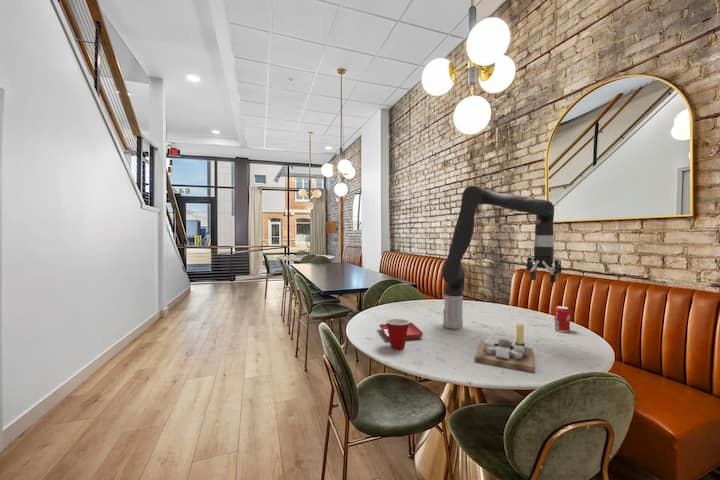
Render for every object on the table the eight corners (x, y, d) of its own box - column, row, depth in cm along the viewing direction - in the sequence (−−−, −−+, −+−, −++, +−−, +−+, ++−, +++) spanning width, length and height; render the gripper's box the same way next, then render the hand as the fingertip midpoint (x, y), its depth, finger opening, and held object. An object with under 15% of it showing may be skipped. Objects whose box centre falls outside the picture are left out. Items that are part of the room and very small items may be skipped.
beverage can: (572, 333, 147) (572, 309, 147) (558, 332, 149) (558, 308, 148) (566, 329, 154) (566, 306, 153) (552, 328, 155) (552, 305, 155)
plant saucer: (387, 343, 138) (386, 336, 138) (378, 330, 156) (378, 324, 156) (424, 340, 141) (424, 333, 141) (411, 328, 159) (411, 322, 159)
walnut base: (474, 361, 117) (474, 345, 116) (481, 344, 134) (481, 329, 134) (533, 372, 107) (534, 354, 107) (532, 352, 125) (532, 337, 125)
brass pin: (516, 355, 117) (516, 325, 117) (516, 353, 119) (516, 323, 119) (523, 356, 116) (523, 326, 116) (523, 354, 118) (523, 324, 118)
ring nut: (481, 354, 118) (481, 344, 118) (487, 342, 131) (487, 333, 131) (525, 362, 110) (525, 351, 110) (526, 348, 123) (526, 339, 123)
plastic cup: (412, 344, 135) (411, 318, 135) (407, 353, 125) (407, 325, 125) (388, 341, 139) (388, 316, 138) (382, 350, 129) (382, 322, 128)
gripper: (523, 244, 138) (522, 279, 139) (554, 246, 126) (553, 284, 126) (533, 244, 142) (533, 278, 142) (565, 246, 129) (564, 283, 129)
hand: (542, 281), depth 134 cm, fingers open, 8 cm apart
